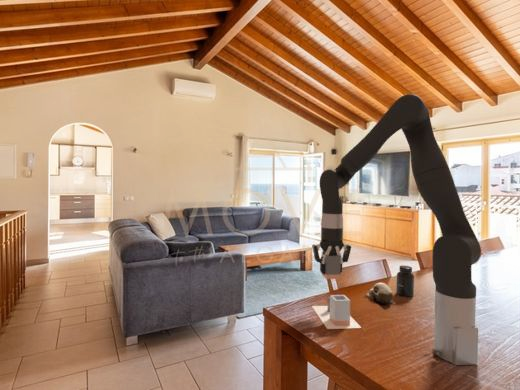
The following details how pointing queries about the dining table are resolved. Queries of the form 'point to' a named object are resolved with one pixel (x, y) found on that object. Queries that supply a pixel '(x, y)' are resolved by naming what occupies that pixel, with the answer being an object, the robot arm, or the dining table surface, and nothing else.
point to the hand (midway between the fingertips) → (331, 273)
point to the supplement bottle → (405, 282)
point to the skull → (381, 294)
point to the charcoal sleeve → (332, 267)
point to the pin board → (325, 317)
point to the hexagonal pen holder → (339, 310)
